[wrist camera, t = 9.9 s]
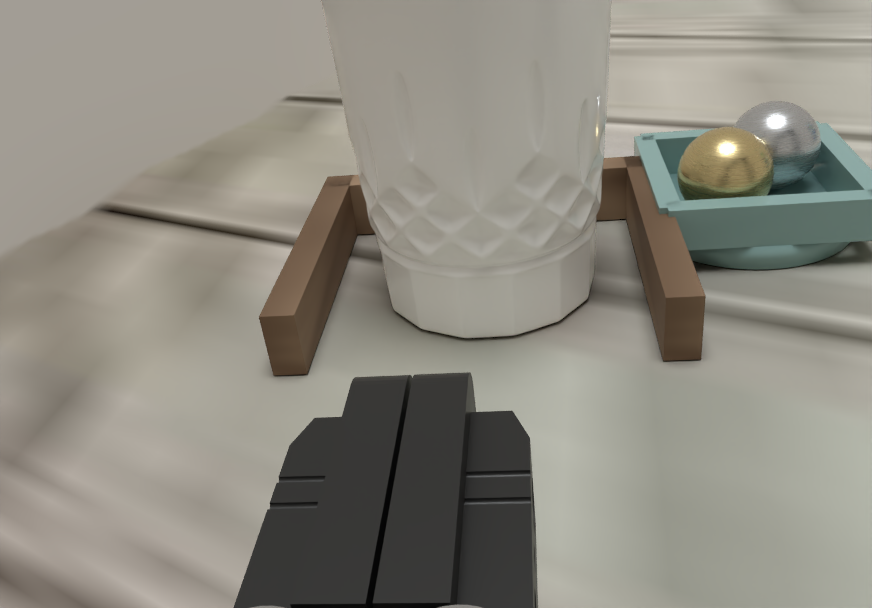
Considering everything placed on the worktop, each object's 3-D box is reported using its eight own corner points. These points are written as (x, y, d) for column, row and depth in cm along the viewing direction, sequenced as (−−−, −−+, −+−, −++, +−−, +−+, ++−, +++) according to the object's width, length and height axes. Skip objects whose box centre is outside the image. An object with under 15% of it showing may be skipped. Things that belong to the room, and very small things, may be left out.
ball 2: (808, 172, 31) (802, 89, 30) (835, 188, 28) (830, 97, 27) (723, 186, 31) (715, 105, 30) (742, 203, 28) (734, 115, 27)
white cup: (596, 362, 23) (593, -17, 18) (334, 343, 25) (266, 1, 20) (623, 234, 30) (626, -72, 24) (411, 228, 32) (374, -54, 27)
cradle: (650, 205, 31) (651, 155, 30) (700, 359, 23) (705, 295, 22) (336, 224, 33) (327, 176, 32) (273, 375, 24) (258, 316, 23)
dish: (818, 175, 32) (825, 120, 31) (887, 263, 26) (900, 198, 25) (631, 187, 33) (632, 134, 32) (657, 275, 27) (659, 212, 26)
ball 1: (752, 193, 29) (767, 112, 28) (776, 235, 27) (794, 148, 25) (665, 195, 30) (675, 114, 28) (681, 236, 27) (692, 150, 25)
